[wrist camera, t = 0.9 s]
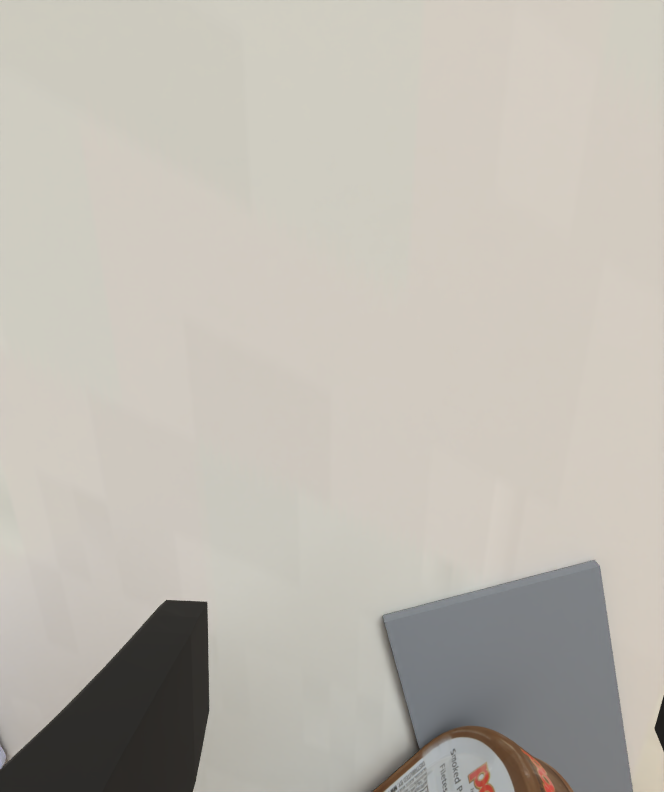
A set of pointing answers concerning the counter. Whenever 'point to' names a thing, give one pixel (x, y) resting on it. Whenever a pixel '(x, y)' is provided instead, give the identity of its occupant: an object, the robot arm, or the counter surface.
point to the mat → (521, 672)
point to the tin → (474, 766)
